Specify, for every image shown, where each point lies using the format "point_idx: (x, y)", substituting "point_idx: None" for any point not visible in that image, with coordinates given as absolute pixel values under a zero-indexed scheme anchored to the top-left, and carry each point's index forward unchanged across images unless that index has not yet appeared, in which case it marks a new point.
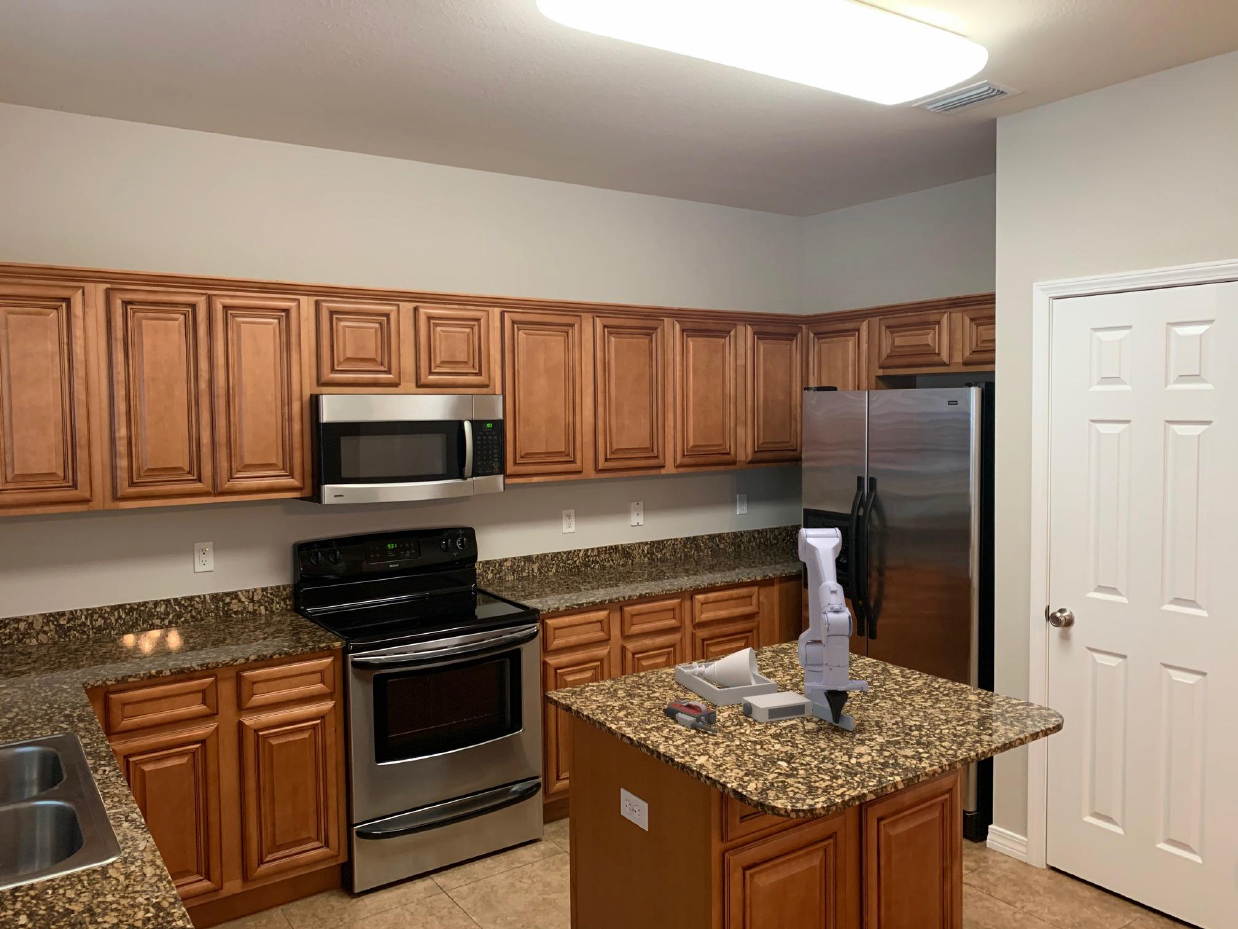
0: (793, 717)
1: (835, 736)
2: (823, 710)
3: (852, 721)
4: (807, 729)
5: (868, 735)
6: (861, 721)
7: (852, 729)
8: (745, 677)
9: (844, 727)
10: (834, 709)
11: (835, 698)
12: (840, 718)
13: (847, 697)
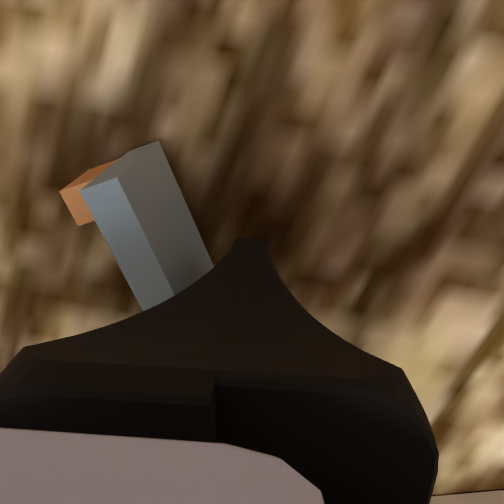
0: (462, 497)
1: (341, 60)
2: None
3: (106, 172)
4: (496, 283)
5: (13, 32)
6: (10, 359)
7: (133, 150)
8: None
9: (189, 217)
10: (292, 299)
11: (310, 368)
12: None
13: (24, 355)
